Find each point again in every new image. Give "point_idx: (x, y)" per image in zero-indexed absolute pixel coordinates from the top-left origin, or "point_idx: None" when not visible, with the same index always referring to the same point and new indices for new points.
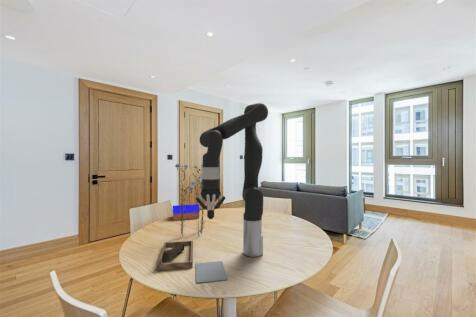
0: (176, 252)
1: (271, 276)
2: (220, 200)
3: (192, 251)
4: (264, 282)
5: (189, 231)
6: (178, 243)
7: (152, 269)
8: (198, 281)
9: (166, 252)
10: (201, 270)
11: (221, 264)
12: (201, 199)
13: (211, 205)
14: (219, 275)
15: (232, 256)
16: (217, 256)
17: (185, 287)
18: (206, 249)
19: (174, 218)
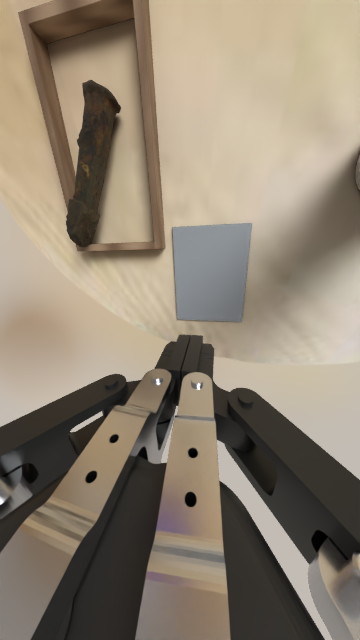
0: (101, 172)
1: (355, 328)
2: (306, 559)
3: (153, 158)
4: (321, 345)
5: None
6: (79, 15)
7: None
8: (181, 317)
9: (76, 234)
10: (187, 272)
11: (244, 247)
12: (24, 501)
13: (182, 409)
14: (227, 303)
15: (300, 179)
16: (244, 172)
17: (159, 326)
18: (210, 80)
19: None
